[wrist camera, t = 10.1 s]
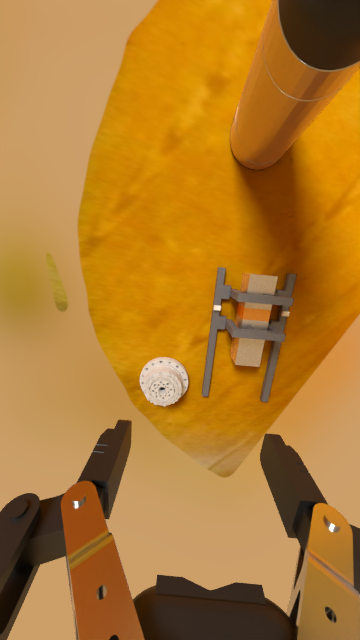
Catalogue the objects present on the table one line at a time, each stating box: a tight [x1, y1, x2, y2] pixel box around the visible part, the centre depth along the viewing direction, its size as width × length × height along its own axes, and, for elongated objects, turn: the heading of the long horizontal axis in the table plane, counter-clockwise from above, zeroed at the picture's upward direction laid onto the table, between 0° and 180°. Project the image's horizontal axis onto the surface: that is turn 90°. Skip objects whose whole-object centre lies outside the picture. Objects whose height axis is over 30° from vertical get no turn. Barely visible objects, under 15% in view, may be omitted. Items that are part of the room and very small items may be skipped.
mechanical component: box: [140, 357, 188, 407], centre depth 41 cm, size 10×4×10 cm
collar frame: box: [202, 267, 297, 402], centre depth 37 cm, size 26×14×7 cm, turn 175°
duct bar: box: [230, 273, 278, 367], centre depth 37 cm, size 16×4×4 cm, turn 175°
